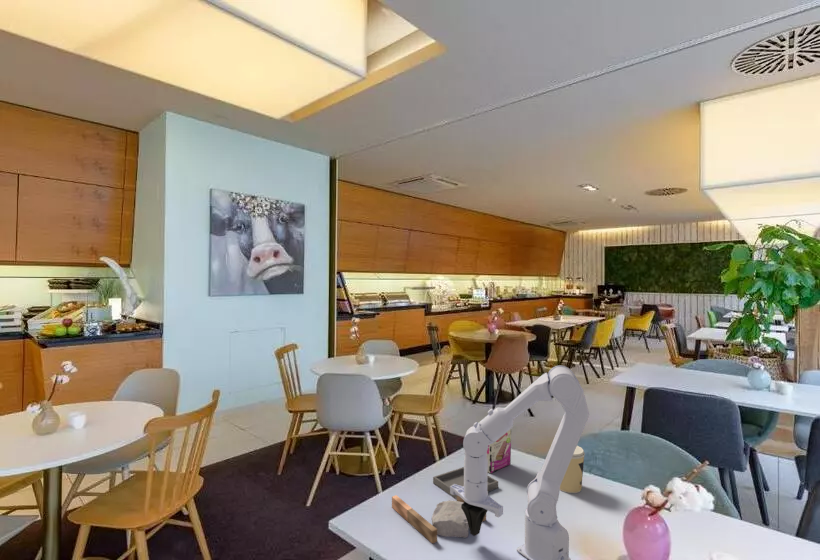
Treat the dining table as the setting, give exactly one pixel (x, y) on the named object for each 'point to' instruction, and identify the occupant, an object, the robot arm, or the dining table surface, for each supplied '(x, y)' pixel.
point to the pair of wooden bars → (417, 518)
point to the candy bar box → (499, 453)
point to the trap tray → (458, 481)
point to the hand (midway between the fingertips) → (475, 533)
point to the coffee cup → (574, 473)
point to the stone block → (450, 519)
